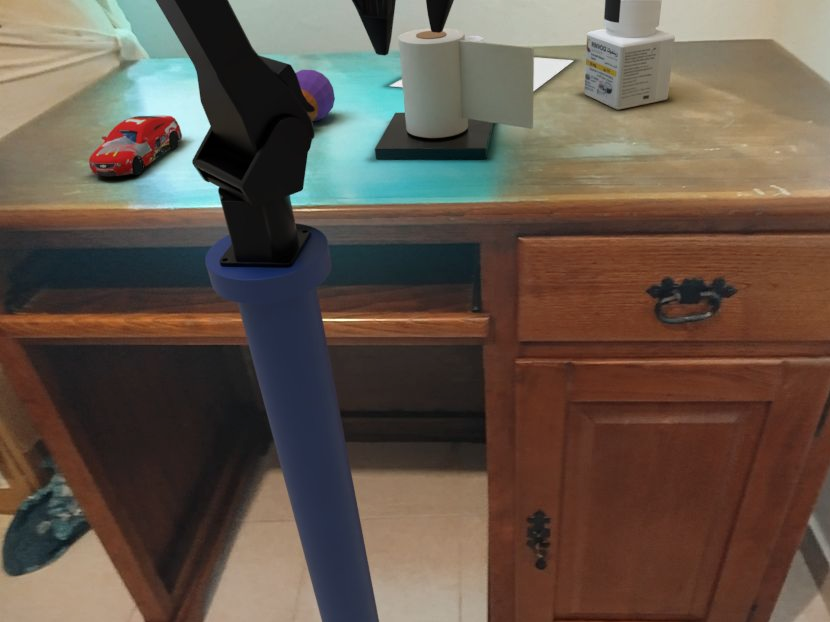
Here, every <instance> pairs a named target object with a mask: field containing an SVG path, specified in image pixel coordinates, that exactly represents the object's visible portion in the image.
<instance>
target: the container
mask: <svg viewBox="0 0 830 622" xmlns="http://www.w3.org/2000/svg"><path fill="white" fill-rule="evenodd" d="M662 3H663V0H604V13H603V14H604V15H603V27H605V28H602V29H595V30H590V31H588V32H587V34H586V47H585V64H584V65H585V67H584V84H583V85H584V86H583V94H584V95H585V96H587V97H589V98H591V99H593V100H595V101H598V102H600V103H602V104H605V105H606V106H608V107H610V108H612V109H614V110H617V111H620V110H622V109H623V110H624V109H629V108H633V107H638V106H643V105H648V104H653V103H658V102H662V101H666V100H668V97H669V89H670V82H671V75H672V73H671V72H672V66H673V57H674V49H675V48H674V47H675V41H676V40H675V39H676V37H675V35H674V34H672V33H669V32H665V31H663V30H659V29H657V28H659V26H660V20H661V19H660V18H661V12H662V11H661V10H662Z"/></svg>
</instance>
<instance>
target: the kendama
mask: <svg viewBox="0 0 830 622" xmlns="http://www.w3.org/2000/svg"><path fill="white" fill-rule="evenodd" d="M295 73H296V75H297V78H298V81H299V84H300V88H301V90H302V93H303V95H304V97H305V98H306V100H307V101H308V102H309V103H310V104H311V105H312V106H313V107H314V108H315V110H314V112H308V114H309V115H310V117H311V120H312V122H318V121H320V120H322V119H325V118H326V117H327V116H328V114H329V113H330V112H331V111H332V109H333V108H334V105H335V101H336V96H335V91H334V87H333V85H332V83H331V81H330V80H329V78H328V77H326V76H325V74H324V73H322V72H320V71H317V70H314V69H301V70H298V71H296V72H295Z"/></svg>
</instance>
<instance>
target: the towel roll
mask: <svg viewBox="0 0 830 622" xmlns="http://www.w3.org/2000/svg"><path fill="white" fill-rule="evenodd" d="M465 37H466V36H465V33H464V32H463V31H462V30H460V29H455V28H449V27H444V29H443V31H442V32H440V33H436V32H432V31H431V28H430V27H426V28H418V29H413V30H409V31H406V32H404V33H401V34H399V35H398V37H397V40H398V51H399V52H398V53H399V62H400V73H401V74H400V75H401V79H402V86H403V87H402V95H403V96H402V97H403V106H404V113H405V120H406V130H407V132H408V133H410V134H411V135H414V136H417V137H423V138H443V137H449V136H454V135H457V134H460V133H462V132H464V131H465V130H466V129H467V128H468V119H473V120H479V121H486V122H492V123H494V124H500V125H504V126H512V127H517V128H524V129H533V128H534V92H533V87H534V57H535V47H532V46H531V47H530V46H522V45H514V44H513V45H512V44H511V45H510V44H504V43H503V44H502V43H492V42H484V41H483V42H474V41H465Z"/></svg>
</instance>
